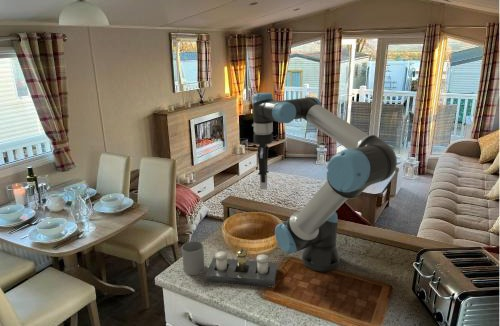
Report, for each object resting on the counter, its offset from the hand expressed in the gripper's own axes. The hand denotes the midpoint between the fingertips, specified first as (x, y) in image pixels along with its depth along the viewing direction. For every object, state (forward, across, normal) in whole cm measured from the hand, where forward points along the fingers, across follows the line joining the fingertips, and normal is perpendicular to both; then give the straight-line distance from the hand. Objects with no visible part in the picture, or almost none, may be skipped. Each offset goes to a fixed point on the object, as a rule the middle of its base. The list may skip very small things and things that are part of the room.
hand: (263, 188), depth 153 cm
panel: (+28, +20, -6) cm, 35 cm away
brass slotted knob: (+25, +20, -6) cm, 33 cm away
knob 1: (+28, +20, -14) cm, 37 cm away
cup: (+29, +18, -26) cm, 43 cm away
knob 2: (+28, +20, +2) cm, 34 cm away
